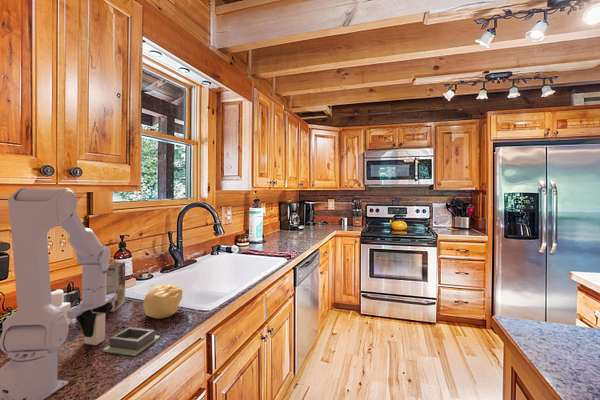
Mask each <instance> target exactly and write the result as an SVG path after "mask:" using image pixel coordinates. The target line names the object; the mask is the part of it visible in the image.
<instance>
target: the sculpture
mask: <svg viewBox="0 0 600 400" xmlns="http://www.w3.org/2000/svg"><path fill="white" fill-rule="evenodd" d="M182 299H183V289H182V288H180V287H179V286H178V285H173V284H169V283H165V284H162V285H157V286H155V287H153V288H152V289H150V290H149V291H148V292H147V294H146V295H145V296H144V299H143V310H144V313H145V314H146V316H148V317H150V318H153V319H167V318H170V317H172V315H174V314H175V313H176V312H177V311H178V308H179V306H180V303H181V301H182Z"/></svg>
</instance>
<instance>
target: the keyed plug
mask: <svg viewBox="0 0 600 400" xmlns="http://www.w3.org/2000/svg"><path fill="white" fill-rule="evenodd" d="M91 312H92V313H97V315H96V318H95V321H94V329H93V336H92V337H84V336H83V337H84V338H83V339H84V340H83V341H84V344H86V345H92V346H98V345H99V344H100V343H103V342H104V341H105V340H106V322H105V313H102V312H93V311H91Z"/></svg>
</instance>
